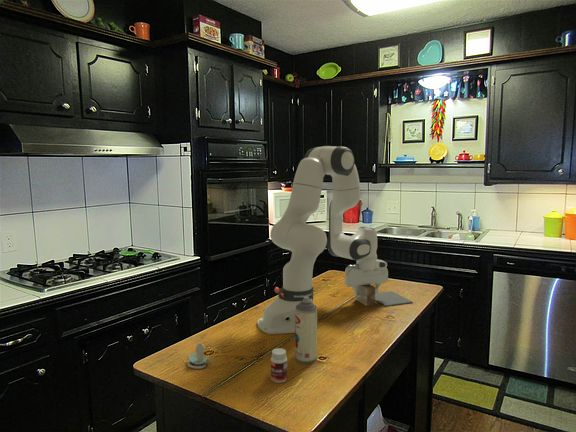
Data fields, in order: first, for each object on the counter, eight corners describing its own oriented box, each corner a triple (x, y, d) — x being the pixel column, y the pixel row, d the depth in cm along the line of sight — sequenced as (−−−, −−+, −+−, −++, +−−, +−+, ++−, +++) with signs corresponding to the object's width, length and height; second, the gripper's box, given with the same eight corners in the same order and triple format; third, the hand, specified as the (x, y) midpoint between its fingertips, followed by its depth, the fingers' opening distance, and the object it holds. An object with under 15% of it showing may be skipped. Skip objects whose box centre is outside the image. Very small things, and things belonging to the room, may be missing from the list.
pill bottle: (267, 381, 117) (267, 353, 116) (275, 373, 121) (275, 346, 120) (283, 384, 115) (283, 356, 114) (290, 376, 119) (290, 349, 118)
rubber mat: (385, 306, 177) (385, 305, 177) (366, 295, 192) (366, 294, 192) (412, 302, 182) (412, 301, 182) (391, 292, 197) (391, 291, 197)
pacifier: (201, 372, 123) (214, 363, 128) (200, 352, 122) (213, 344, 127) (182, 366, 126) (195, 358, 131) (181, 347, 125) (194, 339, 130)
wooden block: (366, 306, 178) (366, 288, 177) (355, 299, 187) (356, 282, 186) (374, 305, 180) (375, 287, 179) (364, 298, 188) (364, 281, 187)
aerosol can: (294, 353, 134) (294, 293, 131) (315, 353, 134) (316, 293, 132) (295, 363, 127) (295, 301, 125) (317, 363, 127) (318, 300, 125)
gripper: (349, 267, 175) (348, 298, 176) (390, 262, 182) (389, 293, 183) (342, 263, 181) (341, 294, 182) (382, 259, 187) (381, 289, 189)
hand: (366, 293), depth 183 cm, fingers open, 8 cm apart
